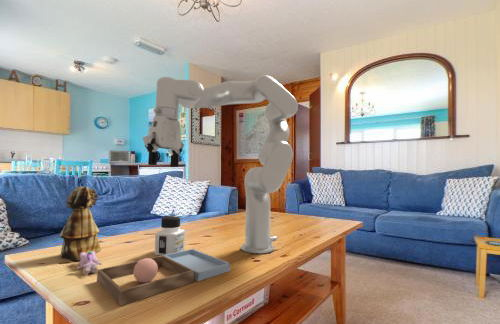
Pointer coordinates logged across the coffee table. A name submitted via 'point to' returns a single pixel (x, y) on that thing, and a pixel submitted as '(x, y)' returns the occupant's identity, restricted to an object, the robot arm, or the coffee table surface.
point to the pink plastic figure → (89, 262)
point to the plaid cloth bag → (80, 225)
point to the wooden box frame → (147, 289)
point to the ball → (145, 270)
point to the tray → (200, 263)
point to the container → (169, 236)
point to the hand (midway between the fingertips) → (163, 165)
